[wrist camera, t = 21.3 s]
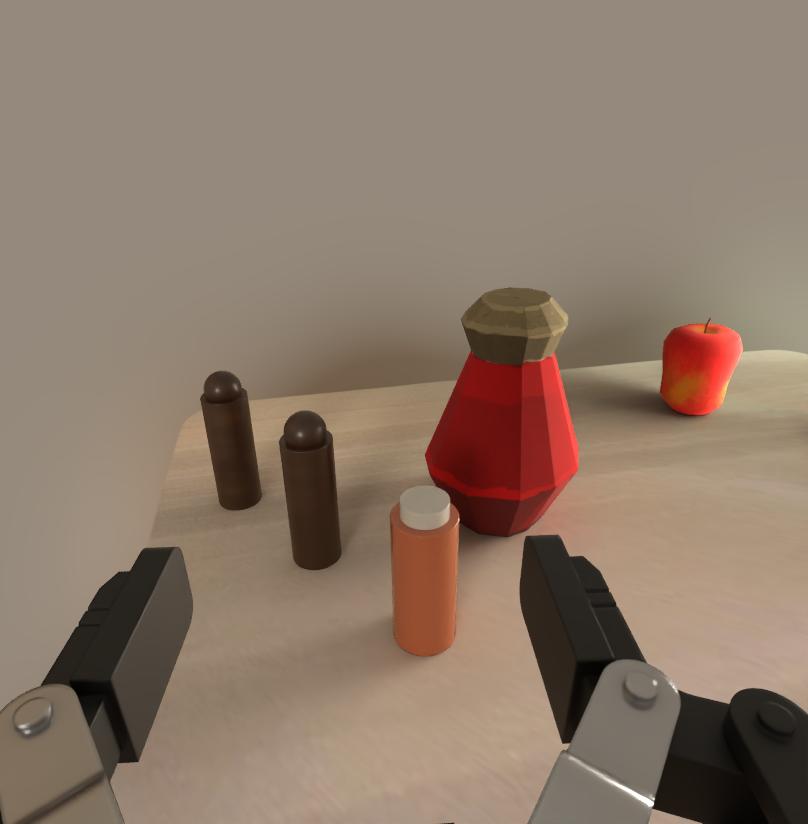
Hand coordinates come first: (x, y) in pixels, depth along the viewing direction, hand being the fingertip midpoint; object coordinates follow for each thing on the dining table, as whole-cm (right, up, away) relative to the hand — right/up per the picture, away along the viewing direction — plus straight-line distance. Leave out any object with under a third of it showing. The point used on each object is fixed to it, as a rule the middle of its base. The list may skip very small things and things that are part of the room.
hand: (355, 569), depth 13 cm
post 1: (-15, -5, +42) cm, 45 cm away
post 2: (-6, -8, +35) cm, 36 cm away
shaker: (+3, -12, +27) cm, 30 cm away
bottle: (+10, -5, +41) cm, 42 cm away
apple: (+37, +4, +59) cm, 70 cm away
